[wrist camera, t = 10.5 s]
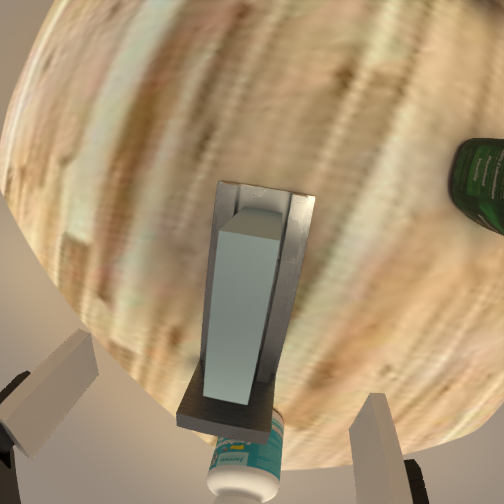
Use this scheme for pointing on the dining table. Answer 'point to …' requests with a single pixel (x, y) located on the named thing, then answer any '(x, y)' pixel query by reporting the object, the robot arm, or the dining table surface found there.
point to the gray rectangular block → (240, 301)
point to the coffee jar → (481, 182)
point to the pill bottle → (247, 468)
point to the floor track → (276, 323)
